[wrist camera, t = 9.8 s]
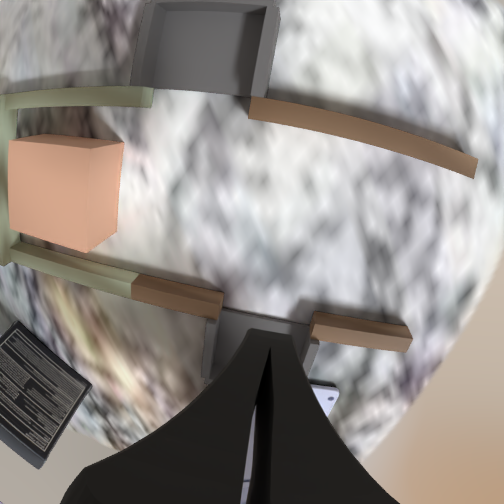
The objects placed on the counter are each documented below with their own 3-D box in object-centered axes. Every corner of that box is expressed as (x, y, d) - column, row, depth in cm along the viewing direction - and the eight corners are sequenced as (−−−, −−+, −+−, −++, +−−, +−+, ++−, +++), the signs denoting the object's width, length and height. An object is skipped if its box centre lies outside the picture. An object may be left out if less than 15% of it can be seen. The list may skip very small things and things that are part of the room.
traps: (297, 382, 23) (297, 401, 22) (135, 345, 24) (125, 360, 22) (387, 34, 14) (397, 25, 12) (161, 4, 14) (148, -6, 12)
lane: (400, 339, 21) (409, 362, 19) (13, 251, 22) (-5, 263, 20) (466, 155, 16) (487, 161, 13) (10, 94, 17) (-12, 96, 15)
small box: (10, 347, 28) (-41, 403, 19) (17, 317, 26) (-46, 378, 16) (78, 406, 30) (37, 472, 20) (94, 385, 27) (45, 462, 18)
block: (118, 230, 21) (86, 253, 17) (44, 211, 21) (9, 228, 17) (126, 142, 18) (90, 148, 15) (47, 133, 18) (8, 140, 15)
